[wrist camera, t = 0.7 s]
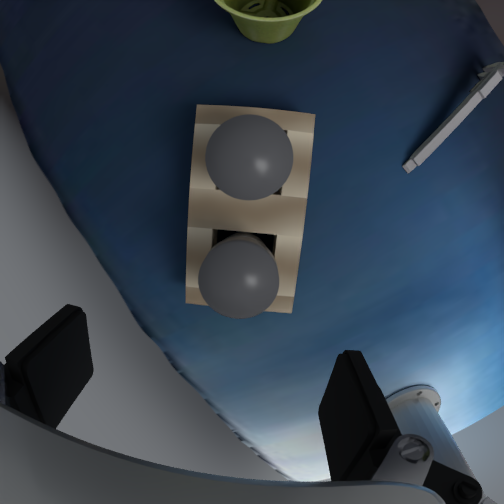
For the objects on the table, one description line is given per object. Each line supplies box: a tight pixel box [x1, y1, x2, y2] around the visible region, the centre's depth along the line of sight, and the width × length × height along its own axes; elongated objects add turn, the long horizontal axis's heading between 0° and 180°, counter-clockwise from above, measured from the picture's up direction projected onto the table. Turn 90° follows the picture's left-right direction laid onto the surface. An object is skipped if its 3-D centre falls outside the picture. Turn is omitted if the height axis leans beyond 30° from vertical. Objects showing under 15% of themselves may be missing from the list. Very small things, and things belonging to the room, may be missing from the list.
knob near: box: [205, 114, 293, 200], centre depth 23 cm, size 6×6×6 cm
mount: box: [186, 105, 315, 313], centre depth 28 cm, size 18×10×4 cm, turn 175°
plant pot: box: [214, 0, 322, 43], centre depth 20 cm, size 9×9×9 cm
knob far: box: [198, 232, 279, 319], centre depth 25 cm, size 6×6×6 cm
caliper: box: [402, 62, 504, 173], centre depth 23 cm, size 20×1×6 cm, turn 138°
